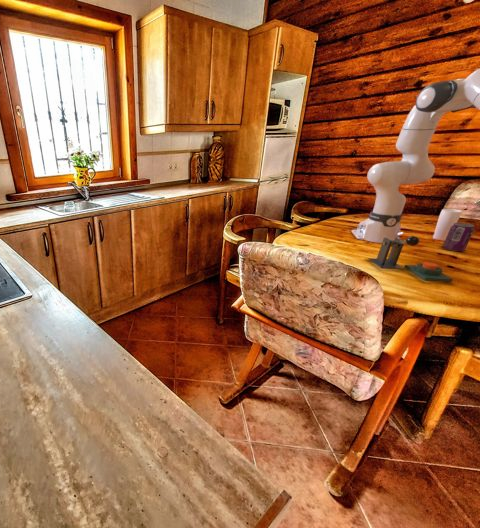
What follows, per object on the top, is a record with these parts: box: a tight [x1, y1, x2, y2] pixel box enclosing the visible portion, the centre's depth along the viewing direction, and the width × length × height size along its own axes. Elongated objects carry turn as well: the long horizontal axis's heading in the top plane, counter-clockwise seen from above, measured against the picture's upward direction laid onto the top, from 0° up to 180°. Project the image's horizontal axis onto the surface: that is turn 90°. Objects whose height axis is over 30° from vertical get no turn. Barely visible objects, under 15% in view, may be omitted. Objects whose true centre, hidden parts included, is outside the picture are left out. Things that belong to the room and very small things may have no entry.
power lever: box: [390, 235, 420, 248], centre depth 108 cm, size 14×4×4 cm, turn 165°
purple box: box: [442, 222, 475, 252], centre depth 127 cm, size 7×7×12 cm
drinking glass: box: [432, 208, 463, 242], centre depth 138 cm, size 7×7×15 cm
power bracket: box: [368, 237, 405, 270], centre depth 115 cm, size 10×8×12 cm
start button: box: [422, 261, 439, 270], centre depth 106 cm, size 4×4×2 cm
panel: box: [403, 263, 454, 283], centre depth 107 cm, size 12×8×4 cm, turn 165°
